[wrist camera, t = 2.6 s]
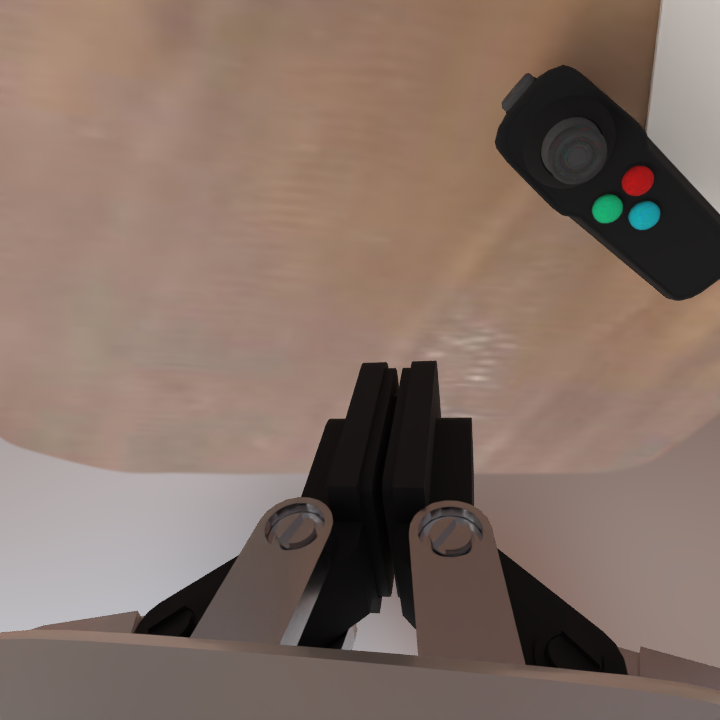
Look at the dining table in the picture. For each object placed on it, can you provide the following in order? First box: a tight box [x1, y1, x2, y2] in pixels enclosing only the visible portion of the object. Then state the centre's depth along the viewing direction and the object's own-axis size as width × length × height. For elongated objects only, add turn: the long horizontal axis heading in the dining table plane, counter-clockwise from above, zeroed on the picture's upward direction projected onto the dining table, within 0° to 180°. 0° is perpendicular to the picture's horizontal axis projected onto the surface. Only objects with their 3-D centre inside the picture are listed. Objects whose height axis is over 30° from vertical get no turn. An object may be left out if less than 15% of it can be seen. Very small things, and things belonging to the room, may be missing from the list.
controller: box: [495, 65, 720, 301], centre depth 25 cm, size 4×12×10 cm, turn 53°
